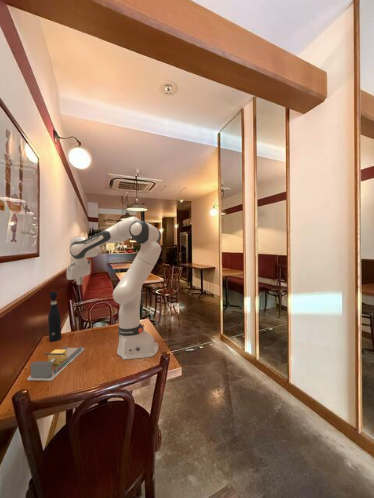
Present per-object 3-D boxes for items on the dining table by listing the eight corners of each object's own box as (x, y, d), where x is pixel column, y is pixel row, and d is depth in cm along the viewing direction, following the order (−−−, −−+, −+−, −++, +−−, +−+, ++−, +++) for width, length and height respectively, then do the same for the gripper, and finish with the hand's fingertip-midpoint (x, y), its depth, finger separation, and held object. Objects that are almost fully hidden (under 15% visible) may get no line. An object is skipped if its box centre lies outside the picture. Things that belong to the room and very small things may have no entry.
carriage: (71, 358, 106) (70, 348, 105) (59, 369, 97) (58, 358, 96) (51, 358, 106) (51, 348, 106) (37, 369, 97) (37, 358, 97)
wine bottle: (59, 336, 135) (57, 290, 134) (62, 338, 131) (60, 291, 130) (47, 339, 130) (45, 292, 129) (51, 342, 126) (49, 293, 125)
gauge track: (84, 349, 117) (83, 337, 117) (51, 380, 91) (50, 365, 91) (65, 349, 118) (64, 337, 117) (27, 380, 92) (26, 364, 91)
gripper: (73, 264, 119) (74, 288, 120) (92, 260, 140) (92, 281, 140) (62, 264, 120) (63, 288, 120) (82, 261, 140) (83, 281, 141)
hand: (79, 284), depth 130 cm, fingers closed
